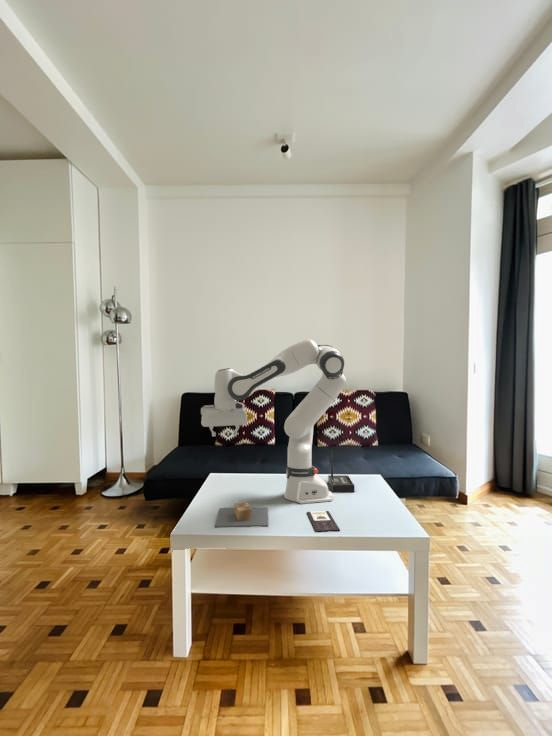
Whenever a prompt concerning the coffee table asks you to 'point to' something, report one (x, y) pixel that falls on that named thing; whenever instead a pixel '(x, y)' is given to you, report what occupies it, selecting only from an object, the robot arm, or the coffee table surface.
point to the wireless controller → (339, 481)
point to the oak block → (242, 511)
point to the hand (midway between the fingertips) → (224, 435)
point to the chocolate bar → (322, 521)
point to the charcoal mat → (230, 520)
